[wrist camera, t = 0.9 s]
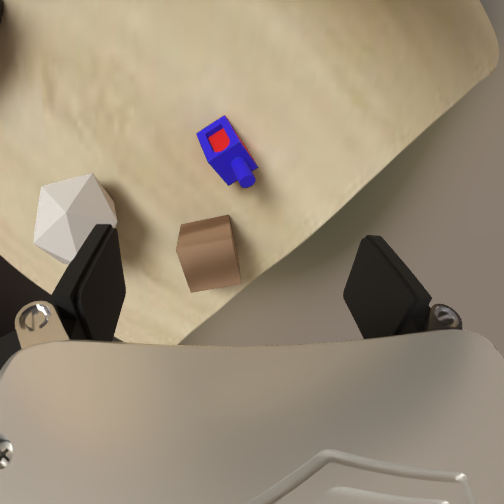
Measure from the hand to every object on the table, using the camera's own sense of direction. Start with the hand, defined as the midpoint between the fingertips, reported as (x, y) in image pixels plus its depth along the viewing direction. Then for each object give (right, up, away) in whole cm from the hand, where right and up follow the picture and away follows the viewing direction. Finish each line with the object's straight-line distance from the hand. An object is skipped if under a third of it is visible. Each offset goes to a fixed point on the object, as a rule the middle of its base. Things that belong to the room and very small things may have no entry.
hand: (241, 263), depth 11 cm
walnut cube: (-4, +2, +20) cm, 21 cm away
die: (-17, +5, +16) cm, 24 cm away
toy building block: (-2, +10, +15) cm, 19 cm away
